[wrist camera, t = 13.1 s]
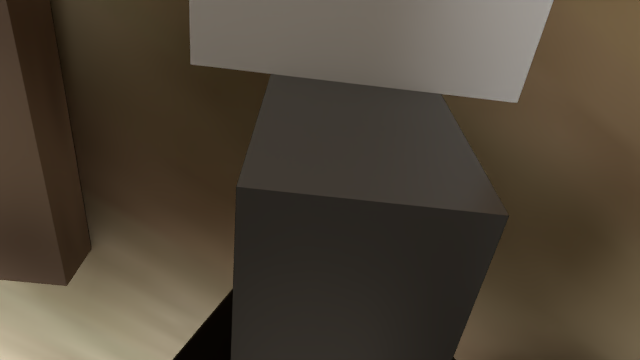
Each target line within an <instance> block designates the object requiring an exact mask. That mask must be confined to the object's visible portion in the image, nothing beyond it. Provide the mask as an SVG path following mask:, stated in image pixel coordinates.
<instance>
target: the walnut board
mask: <svg viewBox="0 0 640 360" xmlns="http://www.w3.org/2000/svg"><path fill="white" fill-rule="evenodd" d="M90 250H91V245H90V239H89V233H88V227H87V221H86V215H85V209H84V203H83V197H82V191H81V185H80V179H79V173H78V167H77V162H76V156H75V150H74V144H73V138H72V132H71V126H70V120H69V114H68V108H67V102H66V96H65V90H64V84H63V78H62V72H61V66H60V60H59V54H58V48H57V43H56V37H55V31H54V25H53V19H52V13H51V7H50V1H49V0H0V280H10V281H20V282H31V283H42V284H52V285H63V286H67V285H68V283H69V282H70V280H71V279H72V277H73V276H74V274H75V273H76V271H77V270H78V268H79V267H80V265H81V264H82V262H83V261H84V259H85V258H86V256H87V255H88V253H89V252H90Z"/></svg>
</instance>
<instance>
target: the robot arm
mask: <svg viewBox="0 0 640 360" xmlns="http://www.w3.org/2000/svg"><path fill="white" fill-rule="evenodd" d="M232 307H233V289H232V290H231V291H230V292H229V293H228V295H227V296H226V297H225V298H224V299H223V301H222V302H221V303H220V304H219V305H218V307H217V308H216V309H215V310H214V311H213V312H212V314H211V315H210V316H209V317H208V318H207V320H206V321H205V322H204V323H203V324H202V325H201V327H200V328H199V329H198V330H197V331H196V333H195V334H194V335H193V336H192V337H191V338H190V340H189V341H188V342H187V343H186V344H185V346H184V347H183V348H182V349H181V350H180V352H179V353H178V354H177V355H176V356H175V357H174V359H173V360H231V338H232ZM452 360H456V359H455V358H454V357H453V359H452Z"/></svg>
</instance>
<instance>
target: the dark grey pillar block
mask: <svg viewBox="0 0 640 360" xmlns="http://www.w3.org/2000/svg"><path fill="white" fill-rule="evenodd" d="M553 1H554V0H189V18H190V62H191V64H192V65H200V66H208V67H217V68H225V69H234V70H242V71H251V72H259V73H268V74H271V76H270V79H269V82H268V85H267V89H266V92H265V95H264V98H263V102H262V105H261V108H260V111H259V115H258V118H257V121H256V124H255V128H254V131H253V134H252V137H251V141H250V144H249V147H248V150H247V154H246V157H245V160H244V163H243V167H242V170H241V173H240V176H239V180H238V183H237V186H236V213H235V244H234V275H233V307H232V338H231V360H452V359H453V356H454V354H455V351H456V349H457V346H458V343H459V341H460V338H461V336H462V333H463V331H464V328H465V326H466V323H467V321H468V318H469V316H470V313H471V311H472V308H473V306H474V303H475V301H476V298H477V295H478V293H479V290H480V288H481V285H482V283H483V280H484V278H485V275H486V273H487V270H488V268H489V265H490V263H491V260H492V258H493V255H494V253H495V250H496V248H497V245H498V242H499V240H500V237H501V235H502V232H503V230H504V227H505V225H506V222H507V220H508V217H509V215H508V213H507V211H506V209H505V207H504V206H503V204H502V202H501V200H500V199H499V197H498V195H497V193H496V191H495V190H494V188H493V186H492V184H491V182H490V181H489V179H488V177H487V175H486V174H485V172H484V170H483V168H482V166H481V165H480V163H479V161H478V159H477V157H476V156H475V154H474V152H473V150H472V149H471V147H470V145H469V143H468V141H467V140H466V138H465V136H464V134H463V133H462V131H461V129H460V127H459V125H458V124H457V122H456V120H455V118H454V116H453V115H452V113H451V111H450V109H449V108H448V106H447V104H446V102H445V100H444V99H443V97H442V95H441V94H446V95H454V96H463V97H471V98H479V99H488V100H496V101H505V102H513V103H517V102H518V99H519V97H520V94H521V91H522V88H523V85H524V82H525V80H526V77H527V74H528V71H529V68H530V66H531V63H532V60H533V57H534V54H535V51H536V49H537V46H538V43H539V40H540V37H541V34H542V32H543V29H544V26H545V23H546V20H547V17H548V15H549V12H550V9H551V6H552V3H553Z"/></svg>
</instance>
